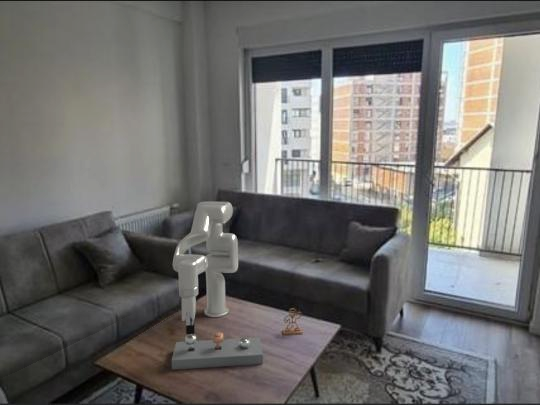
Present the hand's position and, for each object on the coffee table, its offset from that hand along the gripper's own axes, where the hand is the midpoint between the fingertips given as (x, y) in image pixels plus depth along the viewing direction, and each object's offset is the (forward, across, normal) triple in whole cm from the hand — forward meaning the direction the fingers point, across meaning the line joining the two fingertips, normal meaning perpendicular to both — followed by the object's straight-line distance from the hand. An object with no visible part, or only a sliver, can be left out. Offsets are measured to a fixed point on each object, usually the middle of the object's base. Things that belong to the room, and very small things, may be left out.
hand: (190, 333), depth 160 cm
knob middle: (+7, 0, +11) cm, 13 cm away
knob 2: (+10, 0, +22) cm, 24 cm away
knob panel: (+11, 0, +11) cm, 16 cm away
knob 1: (+7, 0, 0) cm, 7 cm away
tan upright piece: (+12, -17, +45) cm, 50 cm away
